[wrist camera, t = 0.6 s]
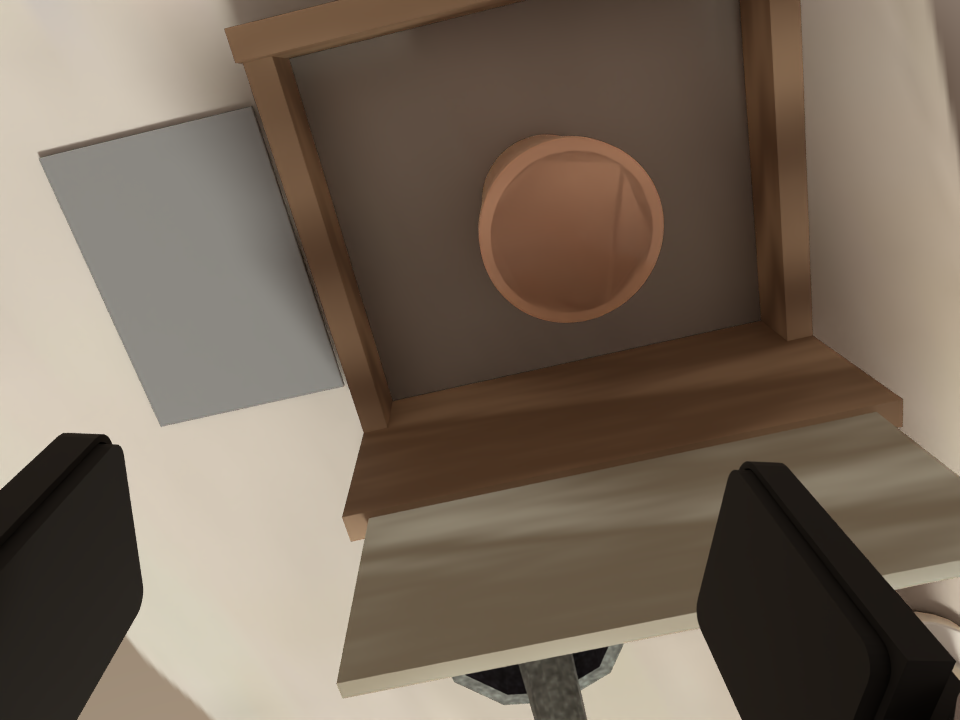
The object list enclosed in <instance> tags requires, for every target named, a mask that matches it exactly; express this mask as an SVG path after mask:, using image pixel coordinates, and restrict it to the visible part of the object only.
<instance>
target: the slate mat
mask: <svg viewBox="0 0 960 720" xmlns="http://www.w3.org/2000/svg"><path fill="white" fill-rule="evenodd" d="M39 161H40V163H41V165H42V167H43V169H44V172H45V174H46V176H47V178H48V180H49V183H50V185H51V187H52V189H53V191H54V194H55V196H56V198H57V200H58V202H59V204H60V207H61V209H62V211H63V213H64V215H65V218H66V220H67V222H68V224H69V226H70V229H71V231H72V233H73V235H74V237H75V240H76V242H77V244H78V246H79V248H80V251H81V253H82V255H83V257H84V259H85V262H86V264H87V266H88V268H89V270H90V272H91V275H92V277H93V279H94V281H95V283H96V286H97V288H98V290H99V292H100V294H101V297H102V299H103V301H104V303H105V305H106V308H107V310H108V312H109V314H110V316H111V319H112V321H113V323H114V325H115V327H116V330H117V332H118V334H119V336H120V338H121V340H122V343H123V345H124V347H125V349H126V351H127V354H128V356H129V358H130V360H131V362H132V365H133V367H134V369H135V371H136V373H137V376H138V378H139V380H140V382H141V384H142V387H143V389H144V391H145V393H146V395H147V398H148V400H149V402H150V404H151V406H152V408H153V411H154V413H155V415H156V417H157V419H158V422H159V424H160V426H161V427H162V426H166V425H171V424H175V423H180V422H184V421H189V420H193V419H198V418H203V417H207V416H212V415H216V414H221V413H225V412H230V411H234V410H239V409H243V408H248V407H252V406H257V405H262V404H266V403H271V402H275V401H280V400H284V399H289V398H293V397H298V396H302V395H307V394H311V393H316V392H321V391H325V390H330V389H334V388H339V387H343V386H344V382H343V379H342V376H341V373H340V370H339V367H338V364H337V361H336V358H335V355H334V352H333V349H332V346H331V343H330V340H329V337H328V334H327V331H326V328H325V325H324V322H323V319H322V316H321V313H320V310H319V307H318V304H317V301H316V298H315V294H314V291H313V288H312V285H311V282H310V279H309V276H308V273H307V270H306V267H305V264H304V261H303V258H302V255H301V252H300V249H299V246H298V243H297V240H296V237H295V234H294V231H293V228H292V225H291V222H290V219H289V216H288V213H287V210H286V207H285V204H284V200H283V197H282V194H281V191H280V188H279V185H278V182H277V179H276V176H275V173H274V170H273V167H272V164H271V161H270V158H269V155H268V152H267V149H266V146H265V143H264V140H263V137H262V134H261V131H260V128H259V125H258V122H257V119H256V116H255V113H254V109H253V106H251V107H247V108H243V109H239V110H235V111H230V112H226V113H222V114H218V115H214V116H210V117H206V118H202V119H198V120H193V121H189V122H185V123H181V124H177V125H173V126H169V127H165V128H161V129H156V130H152V131H148V132H144V133H140V134H136V135H132V136H128V137H124V138H119V139H115V140H111V141H107V142H103V143H99V144H95V145H91V146H87V147H83V148H78V149H74V150H70V151H66V152H62V153H58V154H54V155H50V156H46V157H41V158H39Z"/></svg>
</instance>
